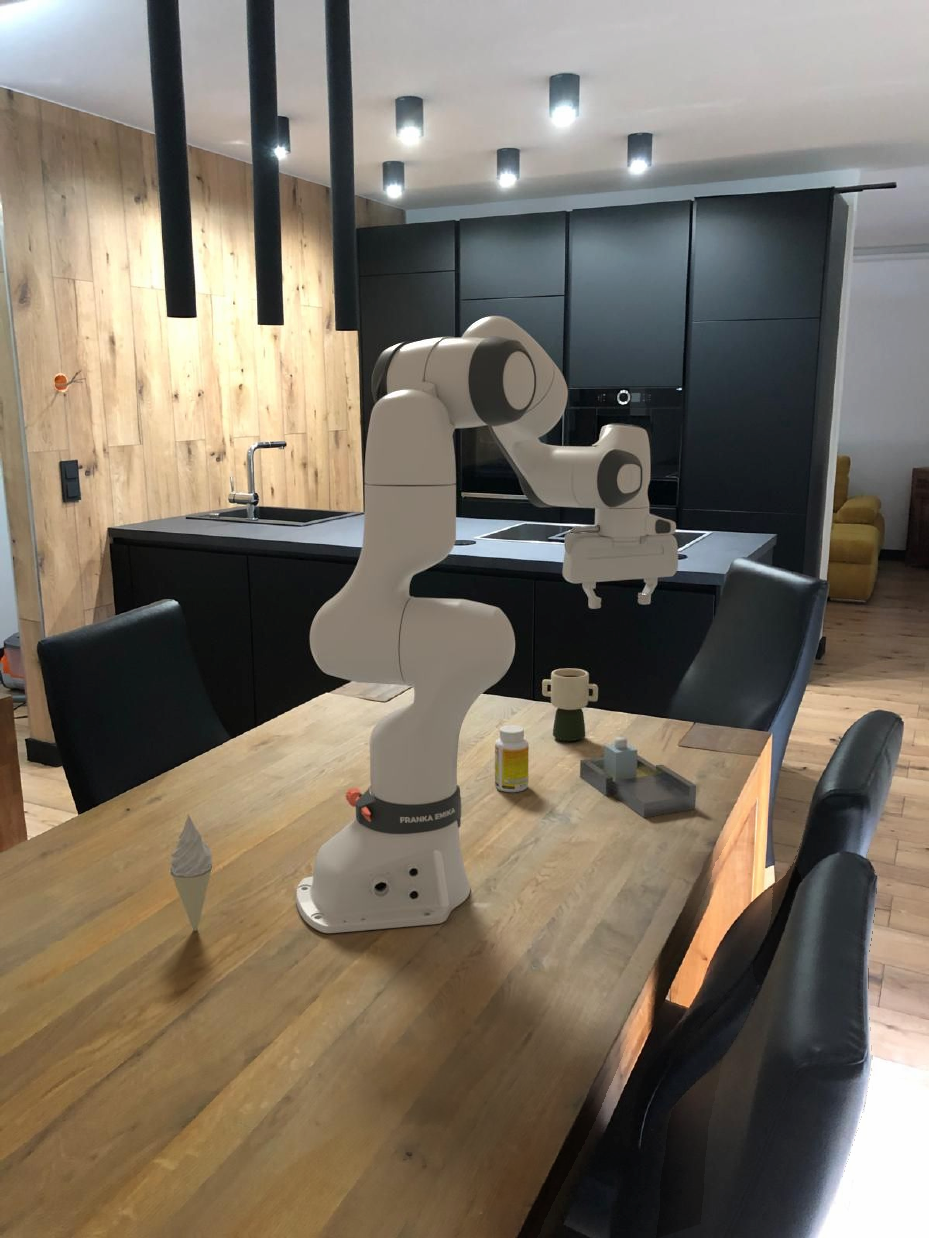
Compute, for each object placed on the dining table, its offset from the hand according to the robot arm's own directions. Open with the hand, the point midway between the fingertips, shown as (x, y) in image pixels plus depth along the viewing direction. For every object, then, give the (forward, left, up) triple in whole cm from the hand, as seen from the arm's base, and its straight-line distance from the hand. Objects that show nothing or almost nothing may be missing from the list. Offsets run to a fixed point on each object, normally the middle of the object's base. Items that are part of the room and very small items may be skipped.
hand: (619, 605), depth 168 cm
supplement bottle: (-20, -1, -29) cm, 36 cm away
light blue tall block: (-3, -6, -28) cm, 28 cm away
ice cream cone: (-74, -30, -29) cm, 85 cm away
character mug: (0, +18, -29) cm, 34 cm away
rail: (-2, -11, -29) cm, 31 cm away
